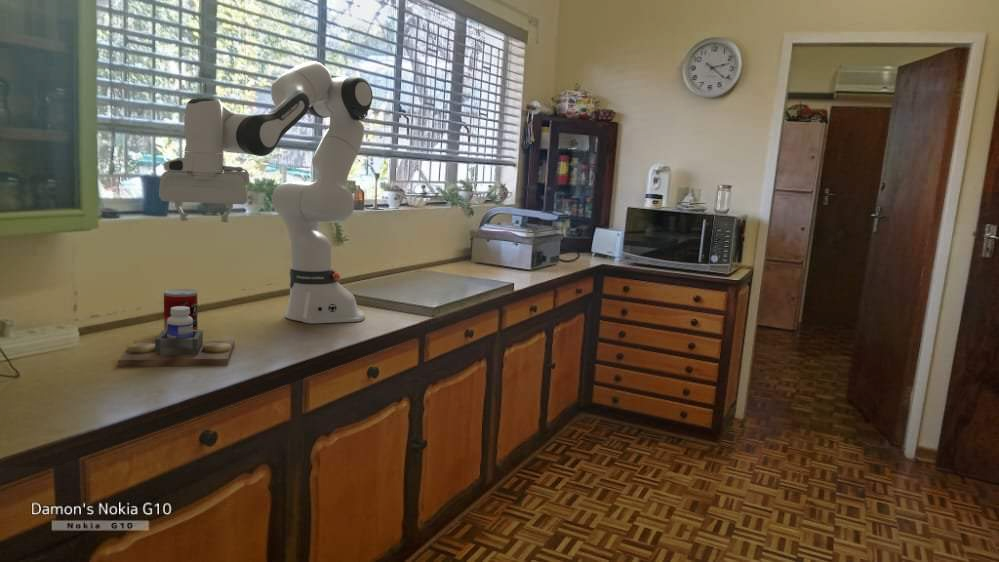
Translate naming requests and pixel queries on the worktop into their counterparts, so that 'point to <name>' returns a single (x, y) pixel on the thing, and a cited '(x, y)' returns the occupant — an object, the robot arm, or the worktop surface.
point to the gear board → (177, 352)
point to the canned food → (181, 303)
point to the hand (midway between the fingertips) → (204, 221)
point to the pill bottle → (180, 323)
